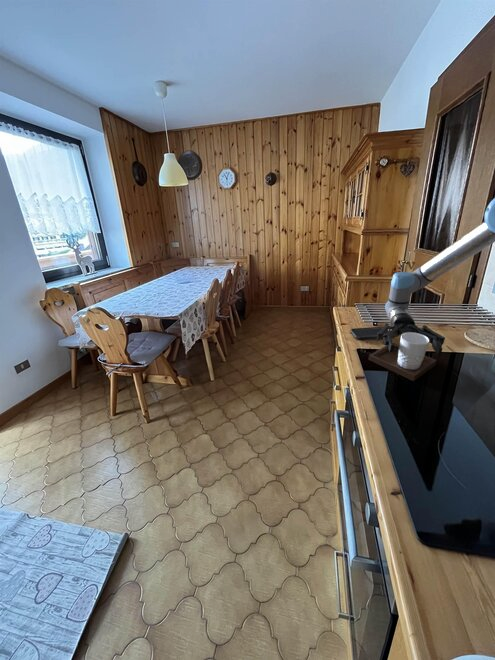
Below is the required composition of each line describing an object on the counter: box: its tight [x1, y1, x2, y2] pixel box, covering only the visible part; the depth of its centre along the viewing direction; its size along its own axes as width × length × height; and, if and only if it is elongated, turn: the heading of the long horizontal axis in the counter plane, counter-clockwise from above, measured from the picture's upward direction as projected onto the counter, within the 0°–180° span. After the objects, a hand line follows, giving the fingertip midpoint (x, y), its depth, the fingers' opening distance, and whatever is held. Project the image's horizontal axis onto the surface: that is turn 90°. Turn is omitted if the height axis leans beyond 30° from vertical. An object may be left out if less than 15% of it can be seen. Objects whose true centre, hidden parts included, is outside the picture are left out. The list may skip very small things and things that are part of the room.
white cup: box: [397, 332, 430, 370], centre depth 92 cm, size 8×8×10 cm
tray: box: [368, 342, 437, 382], centre depth 96 cm, size 16×14×2 cm
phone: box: [350, 326, 391, 341], centre depth 114 cm, size 8×1×15 cm
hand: (415, 350), depth 88 cm, fingers open, 13 cm apart
